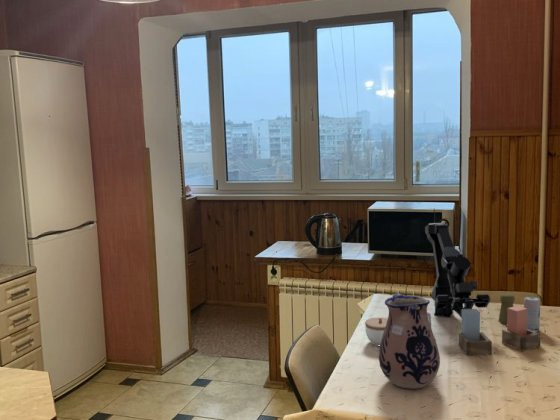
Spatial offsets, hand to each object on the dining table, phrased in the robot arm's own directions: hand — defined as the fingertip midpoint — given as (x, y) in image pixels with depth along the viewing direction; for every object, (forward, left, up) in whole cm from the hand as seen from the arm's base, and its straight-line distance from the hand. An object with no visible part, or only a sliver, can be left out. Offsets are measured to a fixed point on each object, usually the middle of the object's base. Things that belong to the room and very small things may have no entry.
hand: (467, 322), depth 193 cm
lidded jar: (-27, -13, -7) cm, 31 cm away
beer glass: (-11, -21, -7) cm, 25 cm away
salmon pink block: (+16, +5, -7) cm, 18 cm away
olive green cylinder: (+11, +27, -7) cm, 30 cm away
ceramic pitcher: (-11, -39, -7) cm, 42 cm away
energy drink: (+20, +21, -7) cm, 29 cm away
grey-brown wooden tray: (+17, +4, -7) cm, 19 cm away
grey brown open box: (+4, -7, -7) cm, 11 cm away
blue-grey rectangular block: (+2, -3, -7) cm, 8 cm away
